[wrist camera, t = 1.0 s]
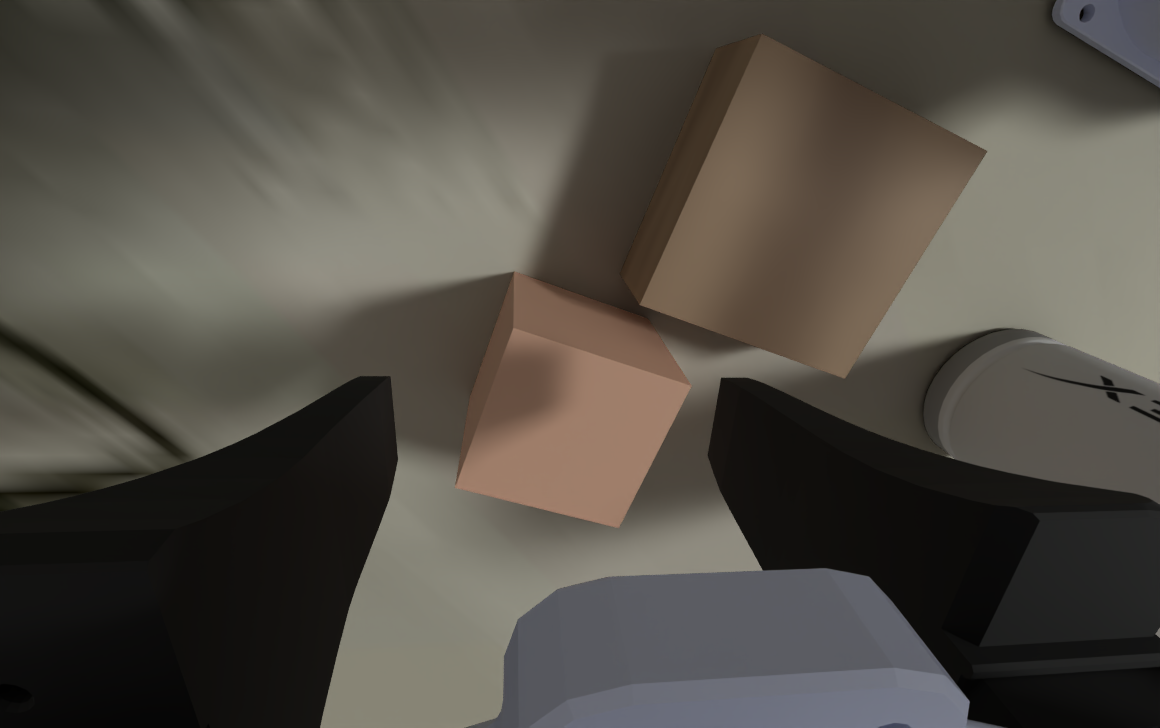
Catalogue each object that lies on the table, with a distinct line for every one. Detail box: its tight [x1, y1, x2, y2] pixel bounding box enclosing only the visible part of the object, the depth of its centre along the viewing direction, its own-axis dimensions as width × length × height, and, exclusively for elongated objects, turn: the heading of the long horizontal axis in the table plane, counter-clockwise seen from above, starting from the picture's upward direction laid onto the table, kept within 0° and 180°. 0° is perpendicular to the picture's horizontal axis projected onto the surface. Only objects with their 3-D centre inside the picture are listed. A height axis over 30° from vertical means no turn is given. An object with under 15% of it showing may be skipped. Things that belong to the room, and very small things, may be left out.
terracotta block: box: [455, 272, 691, 528], centre depth 19 cm, size 6×6×6 cm
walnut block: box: [620, 34, 987, 379], centre depth 19 cm, size 8×8×4 cm
